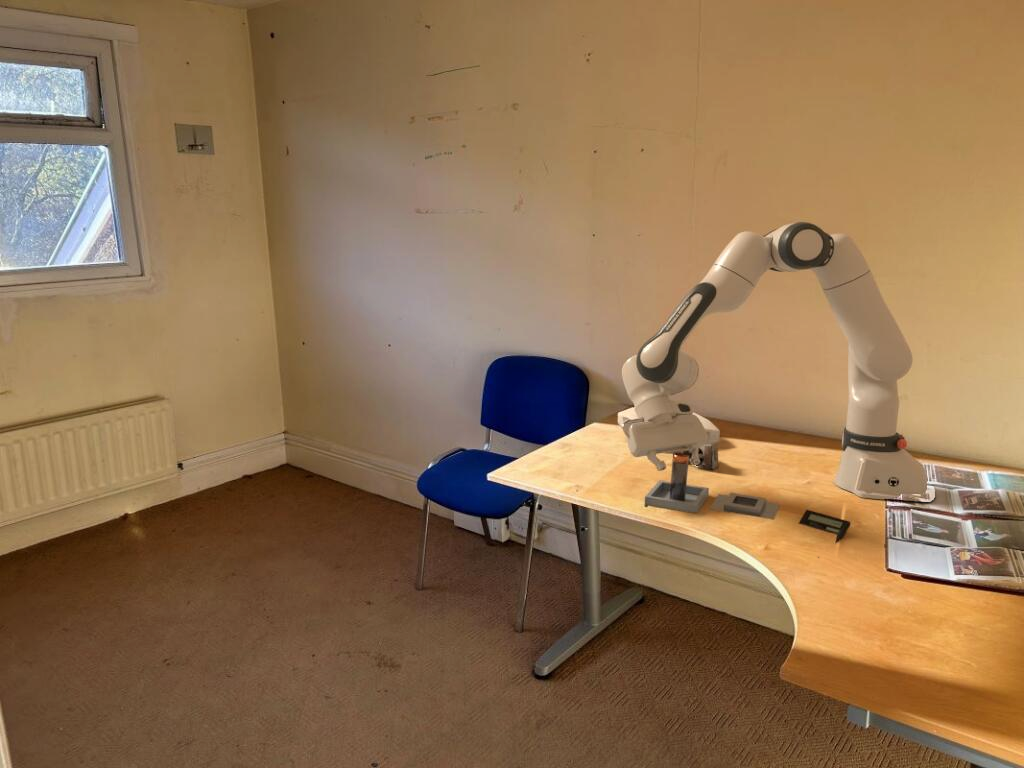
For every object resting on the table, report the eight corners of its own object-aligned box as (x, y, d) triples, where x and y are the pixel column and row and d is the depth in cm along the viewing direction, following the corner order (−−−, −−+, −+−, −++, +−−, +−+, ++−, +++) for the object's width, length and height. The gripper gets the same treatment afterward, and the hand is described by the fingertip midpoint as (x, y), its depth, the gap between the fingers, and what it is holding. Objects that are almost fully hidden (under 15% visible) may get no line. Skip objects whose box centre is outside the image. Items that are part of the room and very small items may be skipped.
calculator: (782, 537, 155) (783, 524, 155) (806, 521, 163) (807, 509, 163) (826, 551, 149) (827, 537, 148) (849, 534, 157) (850, 521, 156)
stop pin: (687, 498, 175) (690, 454, 173) (683, 503, 172) (687, 458, 169) (671, 495, 176) (675, 451, 174) (667, 500, 173) (671, 455, 171)
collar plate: (779, 506, 171) (780, 498, 171) (773, 521, 163) (774, 514, 162) (718, 496, 177) (718, 489, 177) (709, 511, 169) (709, 503, 168)
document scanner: (654, 453, 211) (655, 432, 210) (616, 426, 238) (616, 408, 236) (720, 446, 216) (721, 426, 215) (676, 421, 243) (677, 403, 241)
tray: (708, 497, 177) (708, 487, 176) (696, 515, 166) (696, 505, 166) (659, 489, 182) (659, 480, 181) (644, 506, 172) (644, 496, 171)
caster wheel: (688, 466, 207) (724, 465, 202) (677, 469, 197) (715, 469, 192) (686, 442, 207) (723, 441, 202) (676, 444, 197) (713, 444, 192)
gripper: (625, 414, 172) (647, 466, 165) (697, 404, 180) (721, 454, 173) (614, 427, 177) (635, 479, 170) (685, 418, 185) (708, 466, 178)
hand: (679, 466), depth 172 cm, fingers open, 8 cm apart
